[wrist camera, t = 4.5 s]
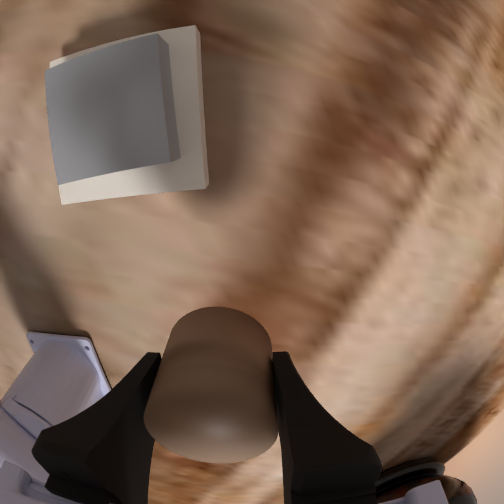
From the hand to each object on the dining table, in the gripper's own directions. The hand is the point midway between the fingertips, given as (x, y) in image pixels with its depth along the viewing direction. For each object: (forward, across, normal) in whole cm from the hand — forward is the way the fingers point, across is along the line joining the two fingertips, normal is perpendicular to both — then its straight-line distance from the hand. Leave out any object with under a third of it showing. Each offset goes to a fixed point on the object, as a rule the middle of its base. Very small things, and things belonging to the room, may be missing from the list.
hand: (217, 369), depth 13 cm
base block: (+10, +6, -12) cm, 16 cm away
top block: (+8, +6, -12) cm, 15 cm away
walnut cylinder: (+1, 0, 0) cm, 1 cm away
